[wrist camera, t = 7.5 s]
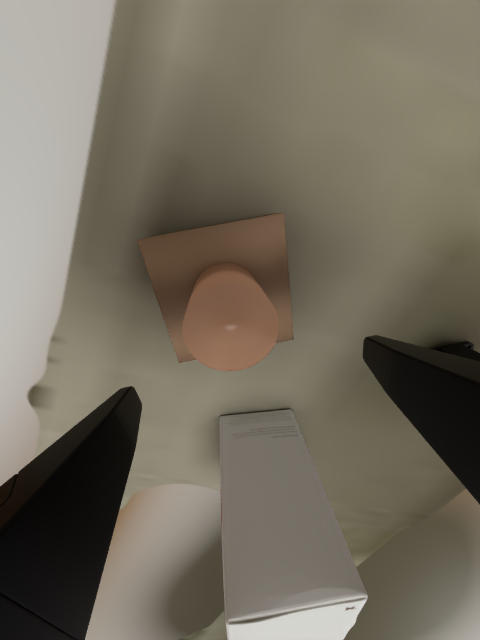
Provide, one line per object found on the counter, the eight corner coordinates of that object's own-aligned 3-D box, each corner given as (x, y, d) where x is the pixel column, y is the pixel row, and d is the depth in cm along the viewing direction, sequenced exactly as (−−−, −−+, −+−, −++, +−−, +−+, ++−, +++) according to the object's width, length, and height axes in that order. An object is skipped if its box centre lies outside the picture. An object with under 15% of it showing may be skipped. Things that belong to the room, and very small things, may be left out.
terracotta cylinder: (262, 319, 18) (282, 361, 13) (201, 330, 18) (195, 378, 13) (254, 256, 16) (274, 275, 11) (185, 269, 16) (170, 294, 10)
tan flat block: (283, 324, 22) (293, 339, 19) (183, 344, 22) (179, 362, 19) (273, 213, 18) (284, 212, 15) (148, 237, 17) (136, 240, 15)
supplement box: (217, 413, 26) (223, 627, 12) (292, 406, 27) (374, 598, 13) (220, 464, 30) (228, 671, 16) (286, 456, 30) (346, 646, 17)
